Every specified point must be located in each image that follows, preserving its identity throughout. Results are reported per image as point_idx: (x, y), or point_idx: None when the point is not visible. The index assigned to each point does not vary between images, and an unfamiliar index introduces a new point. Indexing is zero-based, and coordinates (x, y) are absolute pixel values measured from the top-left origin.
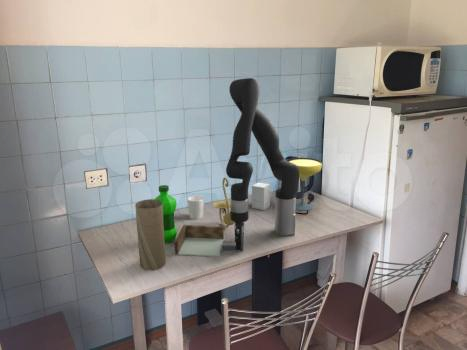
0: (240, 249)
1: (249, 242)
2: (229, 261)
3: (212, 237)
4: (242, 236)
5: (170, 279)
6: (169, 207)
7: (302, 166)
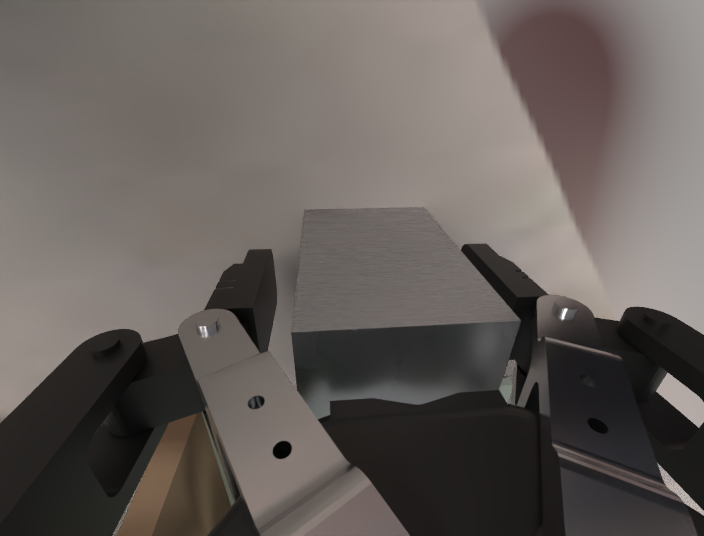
0: (483, 248)
1: (173, 151)
2: (601, 299)
3: (216, 475)
4: (512, 325)
5: (688, 498)
6: None
7: None
